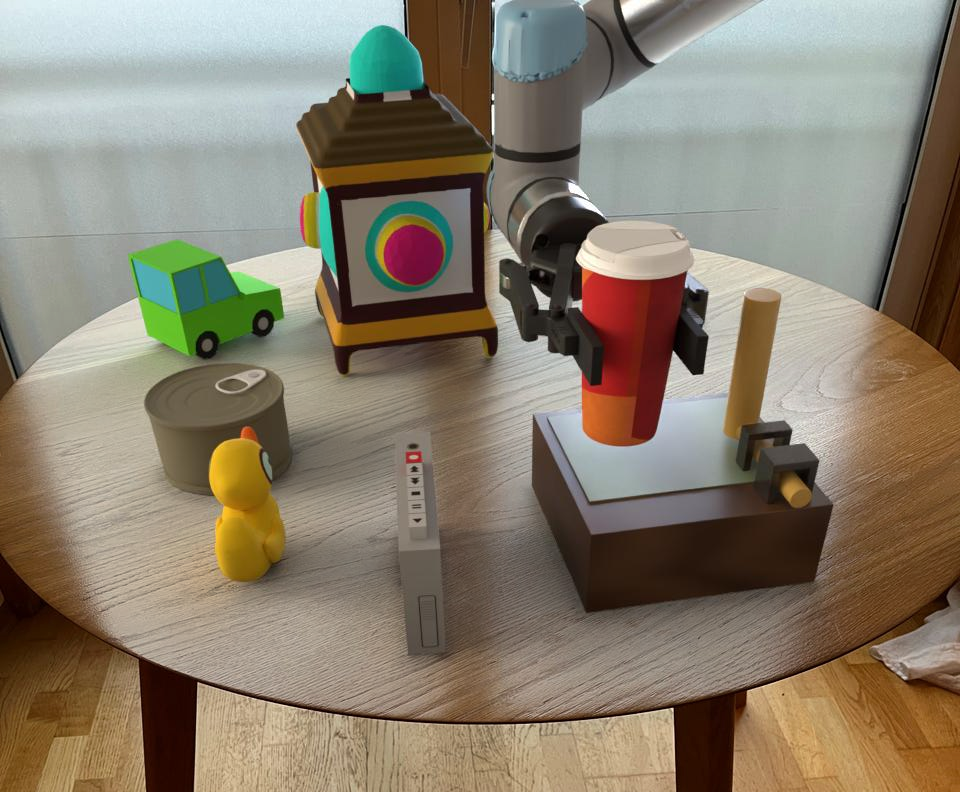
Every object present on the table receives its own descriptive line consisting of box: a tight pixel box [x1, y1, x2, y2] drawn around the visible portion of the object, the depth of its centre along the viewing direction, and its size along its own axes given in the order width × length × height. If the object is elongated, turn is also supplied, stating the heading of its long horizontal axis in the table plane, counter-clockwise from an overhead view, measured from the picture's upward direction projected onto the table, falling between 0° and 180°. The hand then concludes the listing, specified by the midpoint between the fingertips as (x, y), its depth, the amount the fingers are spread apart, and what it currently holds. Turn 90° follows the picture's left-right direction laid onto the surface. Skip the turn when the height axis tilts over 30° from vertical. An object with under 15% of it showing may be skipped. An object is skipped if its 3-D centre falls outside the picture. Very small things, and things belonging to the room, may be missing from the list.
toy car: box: [127, 238, 285, 360], centre depth 109 cm, size 10×13×10 cm
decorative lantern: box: [295, 24, 499, 377], centre depth 101 cm, size 20×20×30 cm
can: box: [143, 362, 293, 496], centre depth 89 cm, size 12×12×7 cm
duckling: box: [209, 427, 287, 583], centre depth 76 cm, size 11×5×10 cm, turn 1°
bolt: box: [723, 287, 812, 508], centre depth 71 cm, size 3×12×11 cm, turn 11°
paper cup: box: [576, 220, 695, 447], centre depth 70 cm, size 8×8×14 cm
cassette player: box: [394, 430, 447, 656], centre depth 73 cm, size 16×3×10 cm, turn 5°
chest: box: [531, 392, 835, 614], centre depth 78 cm, size 18×18×10 cm
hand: (649, 360), depth 65 cm, fingers closed on paper cup, 6 cm apart
